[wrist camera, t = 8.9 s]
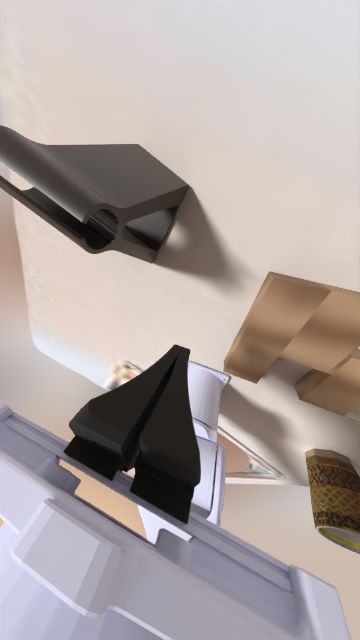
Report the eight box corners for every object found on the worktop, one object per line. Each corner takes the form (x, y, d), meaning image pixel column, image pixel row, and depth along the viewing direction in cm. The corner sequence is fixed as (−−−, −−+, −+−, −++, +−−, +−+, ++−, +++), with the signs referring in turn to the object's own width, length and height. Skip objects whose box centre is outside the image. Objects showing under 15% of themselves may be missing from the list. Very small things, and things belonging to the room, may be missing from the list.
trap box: (361, 408, 21) (386, 445, 17) (224, 360, 24) (222, 382, 21) (511, 328, 12) (621, 367, 9) (269, 271, 16) (278, 283, 12)
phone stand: (153, 263, 20) (74, 295, 10) (117, 235, 19) (-2, 241, 10) (189, 186, 14) (96, 98, 5) (140, 145, 14) (-69, -39, 4)
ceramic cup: (302, 465, 33) (323, 541, 25) (289, 441, 30) (308, 518, 22) (389, 478, 26) (457, 588, 18) (383, 449, 23) (460, 564, 15)
